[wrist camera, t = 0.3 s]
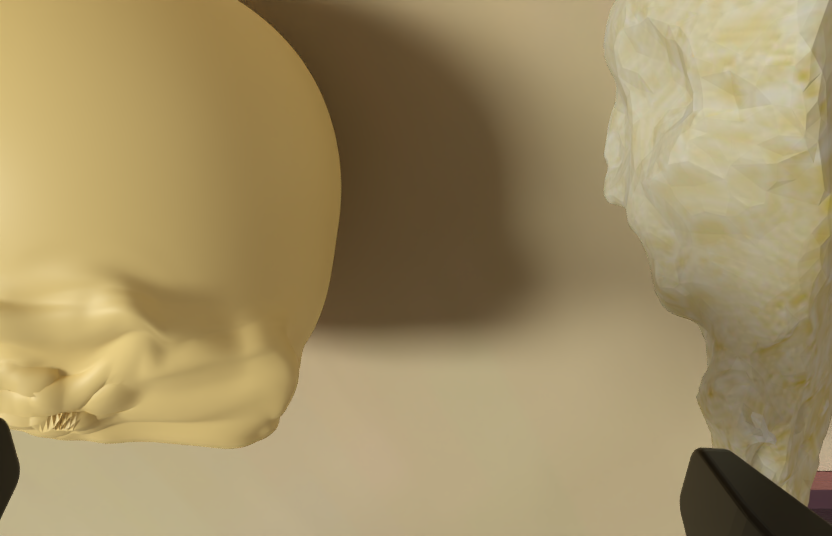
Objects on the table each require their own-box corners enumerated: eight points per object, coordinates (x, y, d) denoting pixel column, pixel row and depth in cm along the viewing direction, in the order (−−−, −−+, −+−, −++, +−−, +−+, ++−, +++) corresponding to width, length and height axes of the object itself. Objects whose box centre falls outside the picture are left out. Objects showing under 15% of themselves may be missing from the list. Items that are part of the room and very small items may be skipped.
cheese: (676, -227, 19) (361, 151, 14) (1018, -340, 14) (698, 199, 9) (759, 160, 29) (588, 462, 24) (977, 180, 23) (814, 571, 19)
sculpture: (18, 283, 24) (-255, 513, 15) (-17, -86, 19) (-480, -109, 9) (332, 334, 25) (270, 585, 15) (382, -9, 20) (335, 43, 10)
